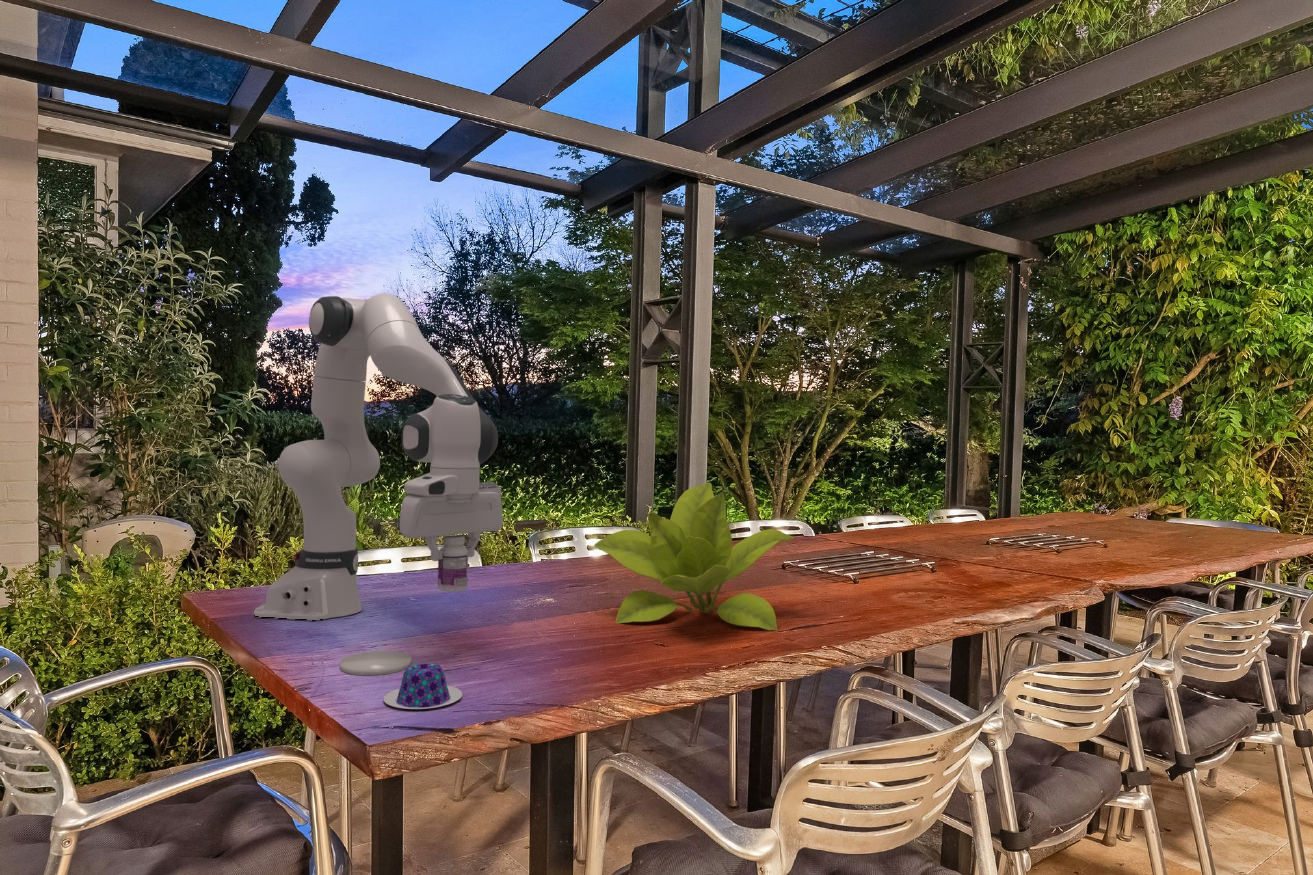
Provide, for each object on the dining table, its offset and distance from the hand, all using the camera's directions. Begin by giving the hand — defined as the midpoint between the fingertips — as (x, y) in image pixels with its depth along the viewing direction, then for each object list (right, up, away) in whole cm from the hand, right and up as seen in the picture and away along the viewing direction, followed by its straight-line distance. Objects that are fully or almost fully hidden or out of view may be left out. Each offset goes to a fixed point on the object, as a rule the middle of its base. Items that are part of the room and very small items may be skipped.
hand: (452, 558), depth 154 cm
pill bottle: (0, -6, 0) cm, 6 cm away
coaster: (-13, -18, -4) cm, 23 cm away
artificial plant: (+46, -19, +37) cm, 62 cm away
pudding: (+1, -20, -22) cm, 29 cm away
